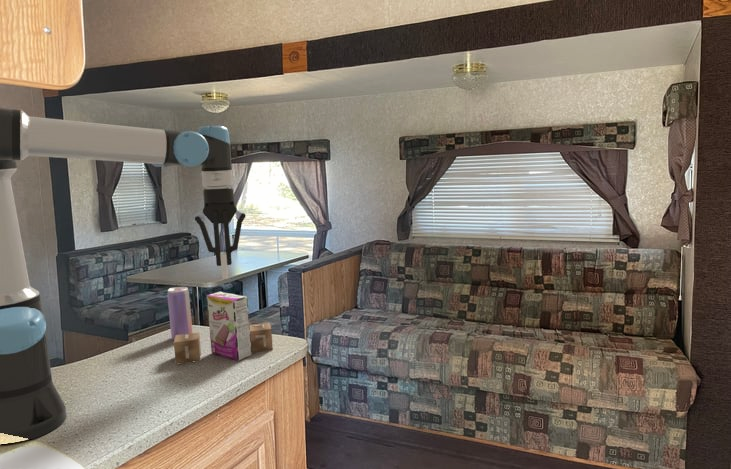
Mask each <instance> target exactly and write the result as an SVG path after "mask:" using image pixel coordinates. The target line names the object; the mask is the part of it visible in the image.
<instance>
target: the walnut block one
mask: <svg viewBox="0 0 731 469" xmlns="http://www.w3.org/2000/svg"><path fill="white" fill-rule="evenodd" d="M173 349H174V359H175V365H178V364H177V363H183V364H187V363H186V362H191V363H194V362H193V361H199V362H201V357H200V356H201V355H202V348H201V340H200V332H192V333H190V334H181V335H176V336H175V340H173Z"/></svg>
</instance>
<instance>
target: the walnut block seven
mask: <svg viewBox="0 0 731 469" xmlns="http://www.w3.org/2000/svg"><path fill="white" fill-rule="evenodd" d="M249 327H250V341H251V353H257V352H265V351H266V352H267V351H273V350H274V347H273V335H272V334H273V333H272V332H273V331H272V326H271V323H270V322H263V323H254V324H253V323H252V324H249Z"/></svg>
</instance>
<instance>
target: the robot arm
mask: <svg viewBox="0 0 731 469" xmlns="http://www.w3.org/2000/svg"><path fill="white" fill-rule="evenodd" d="M231 152H232V151H231V139H230V133H229V129H228V128H227V127H226V126H223V125H208V126H207V125H206V126H204V125H203V126H199V127H198V129H197V131H192V130H184V131H179V130H165V129H159V128H151V127H150V128H149V127H139V126H130V125H121V124H120V125H118V124H107V123H99V122H98V123H97V122H91V121H90V122H87V121H79V120H68V119H58V118H49V117H39V116H31V115H30V116H29V115H28V114H27V113H26V112H25V111H24V110H22V109H13V108H4V107H0V433H4V434H8V435H13V436H19V437H23V438H28V439H31V440H33V439H37V438H39V437H41V436H45V435H47V434H48V433H50V432H52V431H54V430H56V429H57V428H58V427H60V426H61V425H62V424H64V422H65V421H66V419H67V417H68V416H67V410H66V408H67V407H66V405H65V402H64V400H63V399H62V397H61V396H60V394H59V392H58V390H57V388H56V387H55V384H54V382H53V377H52V371H51V370H52V369H51V368H52V367H51V361H50V354H49V347H48V346H49V345H48V339H47V338H48V337H47V321H46V316H45V314H44V311H43V305H42V300H41V299H42V298H41V295H40V291H39V290H38V289H35V288H34V287H32V286H31V284H30V283H31V282H30V278H29V274H28V267H27V263H26V257H25V251H24V246H23V240H22V236H21V235H22V234H21V231H20V223H19V219H18V212H17V207H16V203H15V196H14V192H13V186H12V179H11V178H12V176H13V175H14V174H16V171H18V168H17V162H16V161H23V160H25V159H26V158H28V157H41V158H43V157H45V158H57V159H58V158H61V159H77V160H90V161H91V160H92V161H95V160H96V161H104V162H105V161H107V162H124V163H127V162H128V163H136V164H137V163H139V164H151V165H152V166H154V167H158V168H159V167H163V168H167V167H189V168H190V167H191V168H192V167H197V166H199V165H200V167H201V169H200V170H201V179H202V187H203V188H204V189H203V191H202V192H203V193H202V195H203V204H204V205H203V209H202V211H201V213H200V214H198V215H195V217H194V220H195V222H196V223H197V224H198V225H199V227H200V231H201V234H202V236H203V239H204V243H205V245H206V246H205V247H206V248H207V251H208V252H209V253H212V254H215V262H216V265H217V267H221V278H222V280H224V279H226V280H227V279H229V269H228V266H231V265H232V253H233V252H234V251H237V250H238V247H239V243H240V235H241V230H242V224H243V222H244V220H245V218H246V213H245V212H242V211H240V210H238V208H237V205H236V204H235V194H234V188H233V187H232V186H234V180H233V179H234V177H233V170H232V169H233V168H232V156H231V155H232V153H231ZM234 216H235V219H236V220H237V221H236V226H235V230H234V231H235V232H234V237H233V241H232V242H233V243H232V245H231V235H230V225H229V223H230V222H231V221H232V219H233V217H234ZM205 217H206V218H207V219H208V220H209V222H211V224H212V225H213V237H214V246H213V244H212V241H211V238H210V235H209V231H208V228H207V226H206V223H205V221H206V218H205ZM220 224H223V233H224V242H225V251H223V252H221V240H220V239H221V238H220Z"/></svg>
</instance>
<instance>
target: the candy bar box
mask: <svg viewBox="0 0 731 469" xmlns="http://www.w3.org/2000/svg"><path fill="white" fill-rule="evenodd" d="M206 304H207V317H208V325H209V326H208V327H209V328H208V329H209V335H210V337H209V338H210V349H211V350H210V351H211V353H212V354H214V355H218V356H221V357H224V358H229V359H231V360H234V361H238V362H240V361H242V360H245V359H246V358H249V357H251V356H252V355H253V354H252V353H253V352H251V341H250V327H249V325H250V318H249V303H248V296H245V295H240V294H235V293H231V292H230V293H229V292H225V291H216V292H213V293H210V294H207V295H206Z"/></svg>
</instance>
